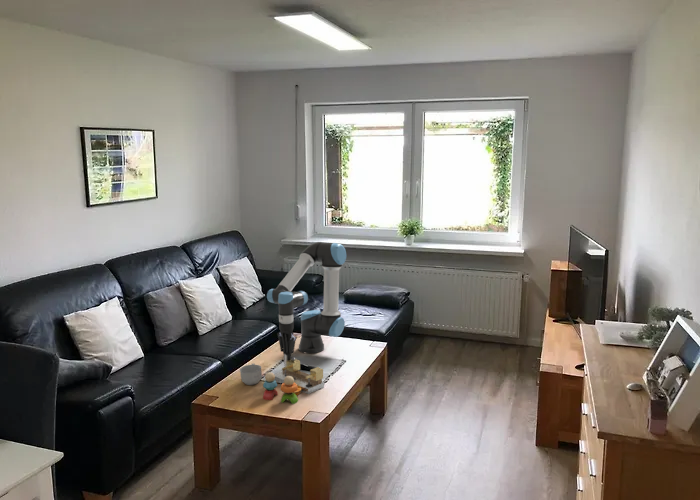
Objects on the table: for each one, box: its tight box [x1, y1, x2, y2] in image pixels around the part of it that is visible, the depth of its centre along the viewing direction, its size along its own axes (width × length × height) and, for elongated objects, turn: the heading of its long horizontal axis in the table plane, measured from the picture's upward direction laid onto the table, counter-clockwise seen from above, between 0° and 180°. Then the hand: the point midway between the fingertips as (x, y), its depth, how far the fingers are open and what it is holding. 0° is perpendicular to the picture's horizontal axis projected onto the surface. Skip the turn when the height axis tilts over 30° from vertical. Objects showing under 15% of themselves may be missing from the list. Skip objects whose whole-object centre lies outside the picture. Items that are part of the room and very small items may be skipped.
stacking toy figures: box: [262, 371, 302, 405], centre depth 272 cm, size 18×17×12 cm
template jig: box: [273, 366, 325, 395], centre depth 288 cm, size 11×27×9 cm, turn 48°
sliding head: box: [281, 356, 301, 376], centre depth 292 cm, size 10×5×8 cm, turn 138°
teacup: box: [239, 362, 263, 386], centre depth 291 cm, size 14×11×8 cm
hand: (287, 365), depth 297 cm, fingers closed
